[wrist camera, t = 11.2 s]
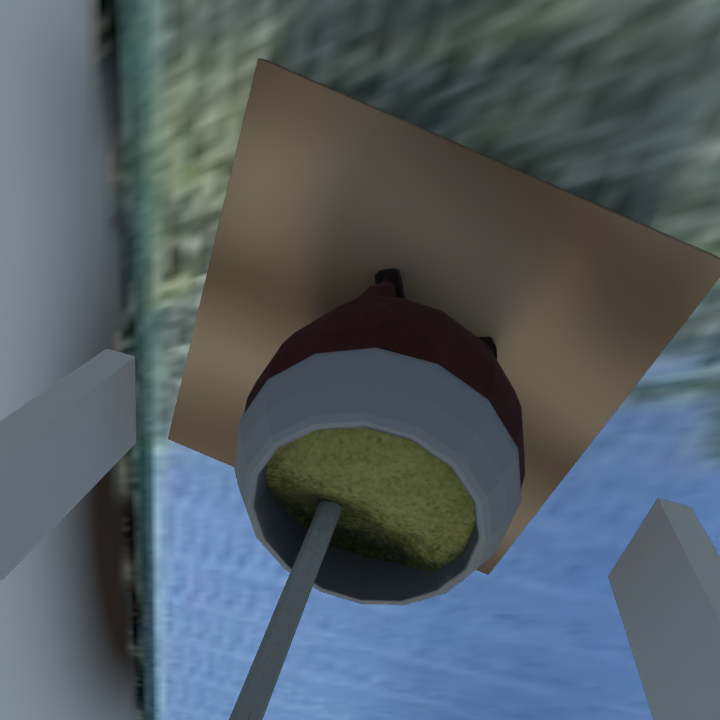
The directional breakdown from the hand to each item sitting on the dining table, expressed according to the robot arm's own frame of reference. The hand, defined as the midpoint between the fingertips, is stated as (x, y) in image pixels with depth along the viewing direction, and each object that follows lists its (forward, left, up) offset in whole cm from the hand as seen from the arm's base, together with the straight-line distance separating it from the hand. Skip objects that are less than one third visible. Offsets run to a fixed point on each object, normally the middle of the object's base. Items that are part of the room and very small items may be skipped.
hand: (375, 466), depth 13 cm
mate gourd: (0, 0, -6) cm, 6 cm away
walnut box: (0, 0, -12) cm, 12 cm away
